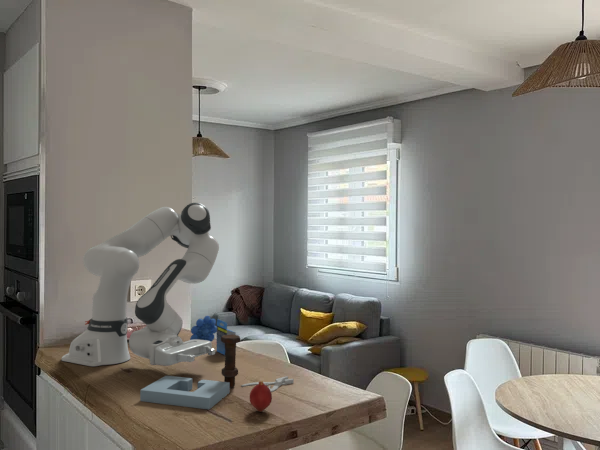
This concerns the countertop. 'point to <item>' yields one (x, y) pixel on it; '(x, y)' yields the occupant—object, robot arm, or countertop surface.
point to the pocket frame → (185, 392)
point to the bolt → (230, 358)
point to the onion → (260, 396)
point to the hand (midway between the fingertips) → (203, 355)
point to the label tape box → (220, 332)
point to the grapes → (204, 329)
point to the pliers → (277, 383)
